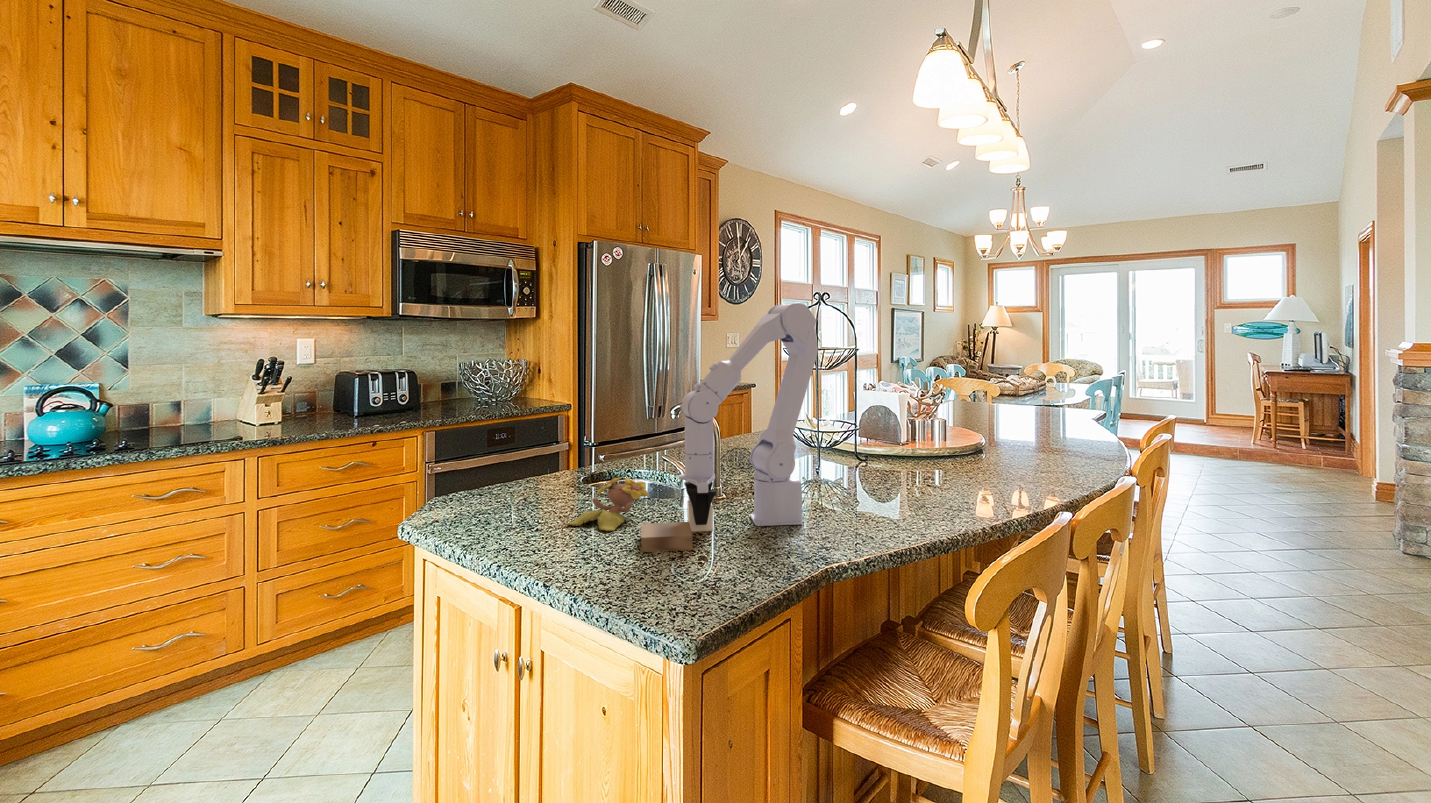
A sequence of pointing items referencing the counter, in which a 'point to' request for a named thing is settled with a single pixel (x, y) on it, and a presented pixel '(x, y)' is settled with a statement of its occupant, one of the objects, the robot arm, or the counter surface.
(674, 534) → the walnut block
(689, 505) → the ceramic cube
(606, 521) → the figurine
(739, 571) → the counter surface
